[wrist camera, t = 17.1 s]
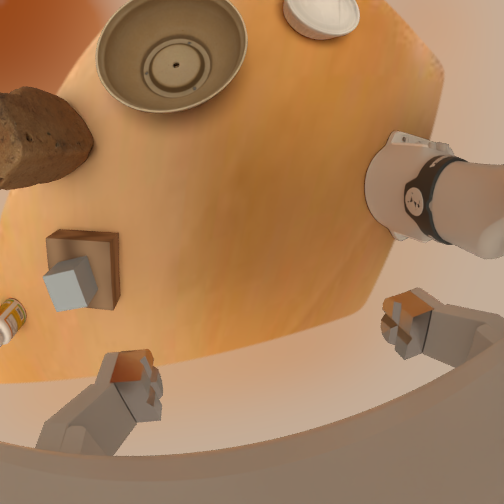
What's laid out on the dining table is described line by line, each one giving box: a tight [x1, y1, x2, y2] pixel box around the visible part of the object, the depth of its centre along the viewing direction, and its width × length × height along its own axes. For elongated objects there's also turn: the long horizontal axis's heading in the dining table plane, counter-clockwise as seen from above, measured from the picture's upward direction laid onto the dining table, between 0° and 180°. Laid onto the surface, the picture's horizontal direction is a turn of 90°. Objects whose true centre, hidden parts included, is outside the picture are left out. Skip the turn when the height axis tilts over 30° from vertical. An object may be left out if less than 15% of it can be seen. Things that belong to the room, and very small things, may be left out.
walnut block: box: [46, 229, 120, 310], centre depth 38 cm, size 10×10×5 cm
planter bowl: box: [96, 0, 248, 113], centre depth 28 cm, size 16×16×11 cm
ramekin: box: [283, 0, 360, 40], centre depth 31 cm, size 11×11×5 cm
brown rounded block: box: [0, 87, 93, 190], centre depth 24 cm, size 11×8×20 cm
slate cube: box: [43, 256, 98, 312], centre depth 33 cm, size 5×5×5 cm
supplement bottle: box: [0, 299, 26, 347], centre depth 35 cm, size 5×5×10 cm
